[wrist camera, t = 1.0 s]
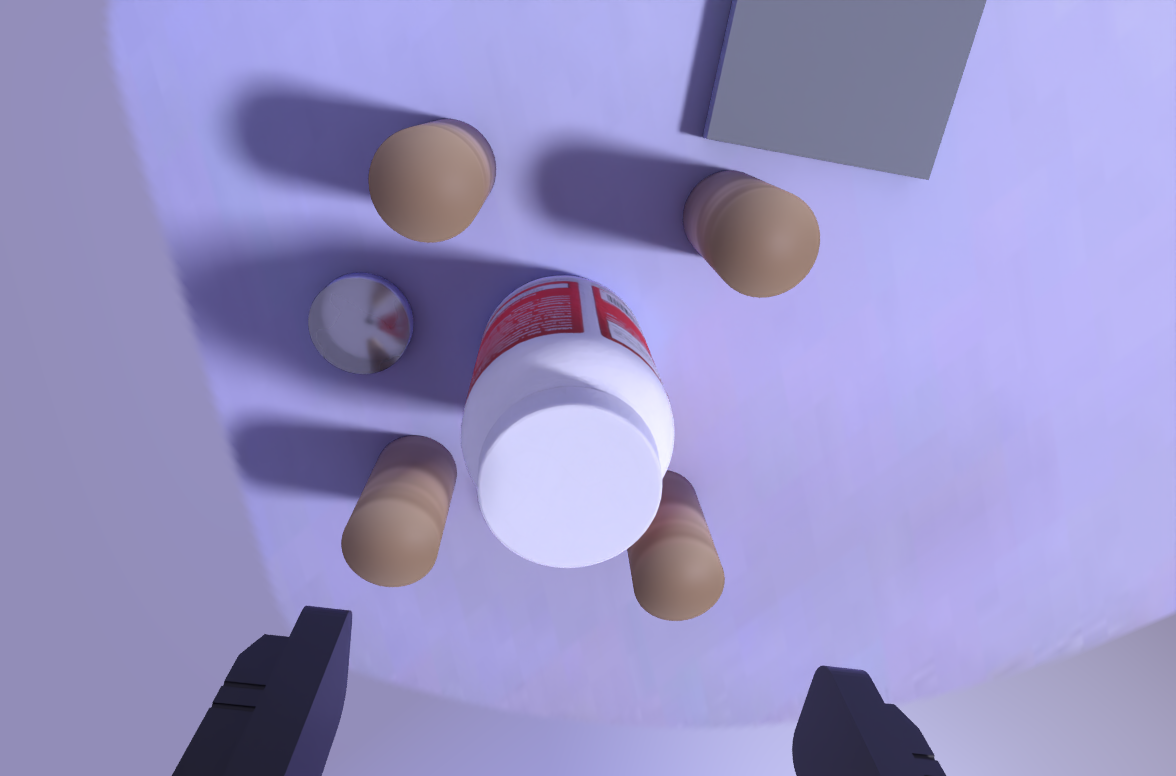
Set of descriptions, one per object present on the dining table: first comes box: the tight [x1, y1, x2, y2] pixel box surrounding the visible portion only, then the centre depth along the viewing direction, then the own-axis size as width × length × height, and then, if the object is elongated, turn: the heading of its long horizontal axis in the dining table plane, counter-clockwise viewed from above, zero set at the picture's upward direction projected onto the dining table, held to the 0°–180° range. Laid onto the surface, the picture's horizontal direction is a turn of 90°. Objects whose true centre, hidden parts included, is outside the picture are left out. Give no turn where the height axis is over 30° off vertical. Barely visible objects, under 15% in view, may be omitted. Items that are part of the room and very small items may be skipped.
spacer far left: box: [341, 436, 457, 587], centre depth 29 cm, size 3×3×6 cm
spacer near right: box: [683, 171, 820, 298], centre depth 25 cm, size 3×3×6 cm
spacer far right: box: [627, 470, 725, 621], centre depth 30 cm, size 3×3×6 cm
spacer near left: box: [369, 119, 496, 243], centre depth 24 cm, size 3×3×6 cm
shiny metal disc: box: [308, 272, 414, 374], centre depth 28 cm, size 4×4×1 cm
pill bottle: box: [461, 275, 674, 568], centre depth 24 cm, size 6×6×11 cm
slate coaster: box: [703, 0, 986, 180], centre depth 26 cm, size 8×8×1 cm
